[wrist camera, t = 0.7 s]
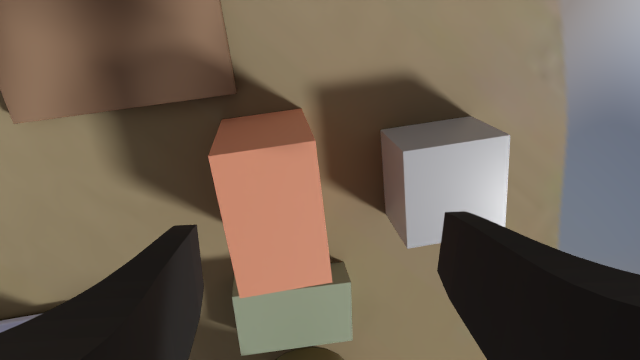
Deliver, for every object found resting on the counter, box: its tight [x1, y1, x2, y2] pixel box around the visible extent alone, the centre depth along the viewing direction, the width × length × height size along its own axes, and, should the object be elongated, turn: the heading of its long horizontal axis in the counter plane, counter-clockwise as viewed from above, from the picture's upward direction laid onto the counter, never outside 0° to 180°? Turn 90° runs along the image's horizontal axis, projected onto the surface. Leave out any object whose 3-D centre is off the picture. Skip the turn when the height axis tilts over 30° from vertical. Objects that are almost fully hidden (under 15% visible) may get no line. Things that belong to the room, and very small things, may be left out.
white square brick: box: [380, 116, 510, 249], centre depth 22 cm, size 5×5×4 cm
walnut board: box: [0, 0, 237, 124], centre depth 18 cm, size 10×9×1 cm
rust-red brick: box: [208, 109, 332, 298], centre depth 20 cm, size 4×6×6 cm, turn 6°
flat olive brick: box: [232, 262, 353, 356], centre depth 25 cm, size 6×4×2 cm, turn 93°
